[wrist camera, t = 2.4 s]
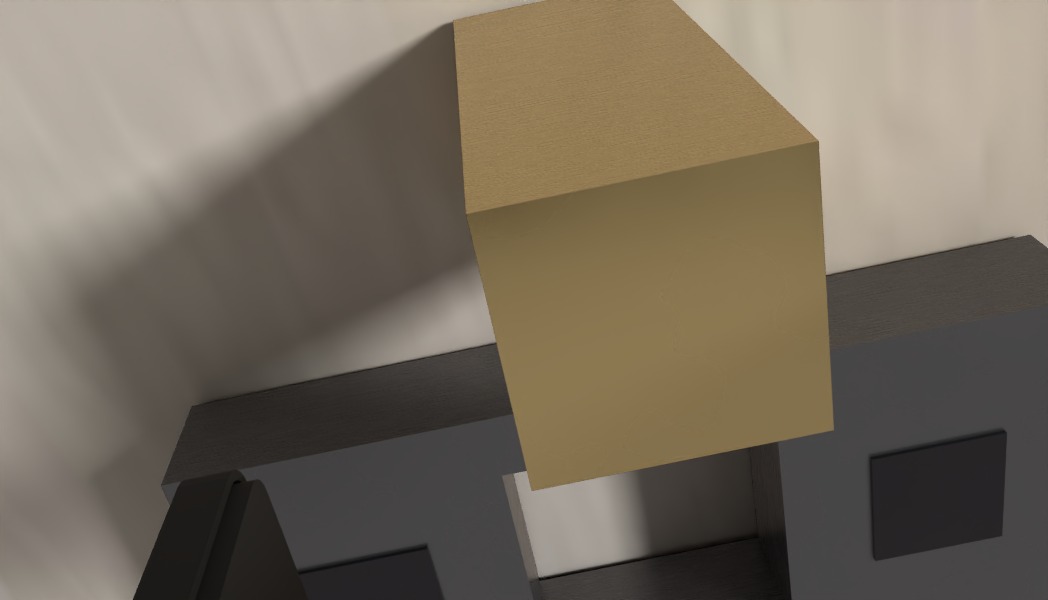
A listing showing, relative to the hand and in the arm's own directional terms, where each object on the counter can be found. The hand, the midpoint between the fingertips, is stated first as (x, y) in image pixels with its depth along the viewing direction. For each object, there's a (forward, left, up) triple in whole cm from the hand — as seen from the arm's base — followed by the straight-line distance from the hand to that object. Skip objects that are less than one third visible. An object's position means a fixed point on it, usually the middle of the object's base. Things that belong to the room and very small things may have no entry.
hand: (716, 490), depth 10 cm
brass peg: (-1, 0, -12) cm, 12 cm away
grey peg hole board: (+9, 0, -12) cm, 15 cm away
